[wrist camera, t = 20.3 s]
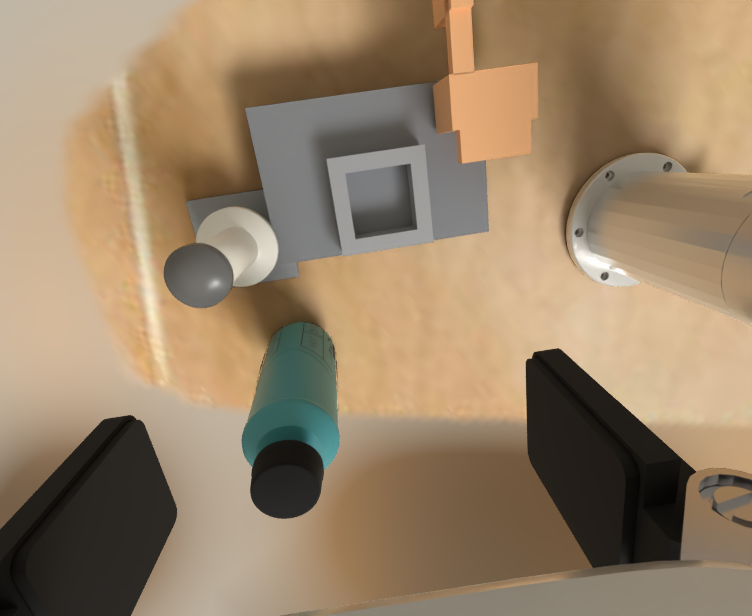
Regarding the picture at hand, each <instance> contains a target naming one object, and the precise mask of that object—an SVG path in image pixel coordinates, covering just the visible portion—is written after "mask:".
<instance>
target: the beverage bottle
mask: <svg viewBox="0 0 752 616" xmlns="http://www.w3.org/2000/svg"><path fill="white" fill-rule="evenodd" d="M278 330H279V329H278ZM272 337H273V338H272ZM330 337H331V336H330ZM330 337H329V335H328V334H327V333H326V332H325V331H324V329H321V327H319V326H317V325H314V324H311V323H307V322H296V323H292V324H289V325H286V326H285V327H281V329H280V330H279V331H277V332H276V334H275V335H274V336H271V340H270V344H269V347H268V348H267V349H268V350H267V354H266V357H265V354H264V358H263V360H264V359H265V360H264V364H263V366H262V364H261V367H262V371H261V374H260V377H257V378H259V381H258V382H256V383H257V384H258V385H257V387H256V393H255V397H254V400H253V404H252V407H251V411H250V414H249V417H248V421H247V423H246V425H245V428H244V431H243V435H242V448H243V453H244V455H245V458H246V459H247V461H248V462H249V464H250V465H251V466H252V467H253V468H252V479H251V488H250V491H251V492H250V493H251V498H252V501H253V503H254V504H255V506H256V507H257V508H258V509H259V510H260V511H261V512H263V513H265V514H266V515H269V516H272V517H274V518H282V519H287V518H294V517H297V516H300V515H303V514H304V513H306V512H308V511H309V510H310V509H312V508H313V506H314V505H315V504H316V503H317V501H318V499H319V496H320V493H321V486H322V480H323V476H324V475H323V474H324V469H326V468H327V467H328V466H329V464H330V463H331V462H332V461H333V459H334V457H335V456H336V454H337V451H338V447H339V430H338V420H337V414H338V413H337V411H338V410H337V389H336V386H338V385H336V373H337V372H335V366H336V369H337V361H335V360H336V359H335V350H334V346H335V345H333V343H332V339H331V338H330ZM267 346H268V345H267ZM265 352H266V351H265ZM262 363H263V361H262ZM335 363H336V365H335ZM260 370H261V368H260ZM257 380H258V379H257ZM337 380H338V379H337ZM337 384H338V383H337ZM338 407H339V406H338Z"/></svg>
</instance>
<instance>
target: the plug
mask: <svg viewBox="0 0 752 616" xmlns="http://www.w3.org/2000/svg"><path fill="white" fill-rule="evenodd" d="M278 256H279V242H278V238H277V235H276V233H275V230H274V229H273V227H272V225H271V224H270V223H269V222H268V221H267V220H266V219H265V218H264V217H263V216H262V215H261V214H259V213H257V212H256V211H254V210H251V209H249V208H245V207H239V206H233V207H226V208H223V209H220V210H218V211H215V212H214V213H212V214H210V215H209V216H208V217H207V218H206V219H205V220H204V221H203V222H202V224H201V225H200V227H199V229H198V232H197V236H196V243H191V244H187V245H185V246H183V247H181V248H179V249H177V250H175V251H174V252H173V253H172V254H171V255H170V256H169V257H168V259H167V261H166V263H165V266H164V279H165V283H166V285H167V287H168V289H169V291H170V292H171V293H172V295H173V296H174V297H175V298H177V299H178V300H179V301H180V302H182V303H184V304H186V305H188V306H191V307H195V308H207V307H211V306H214V305H216V304H218V303H219V302H221V301H222V300H223V299H224V298H225V297H226V296H227V295H228V293H229V292H230V290H231V288H232V286H235V287H246V286H251V285H254V284H256V283H258V282H260V281H262V280H263V279H264V278H266V277H267V276H268V274H269V273H270V272H271V271H272V269H273V268H274V266H275V265H276V262H277V260H278Z"/></svg>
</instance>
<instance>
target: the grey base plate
mask: <svg viewBox="0 0 752 616" xmlns="http://www.w3.org/2000/svg"><path fill="white" fill-rule="evenodd" d="M437 82H439V81H436V82H429V83H421V84H414V85H407V86H400V87H393V88H386V89H379V90H372V91H364V92H357V93H350V94H343V95H336V96H329V97H322V98H314V99H307V100H300V101H293V102H286V103H279V104H272V105H265V106H257V107H250V108H245V111H246V115H247V120H248V124H249V129H250V133H251V137H252V142H253V146H254V151H255V155H256V160H257V164H258V169H259V173H260V178H261V182H262V187H263V191H264V195H265V200H266V204H267V209H268V213H269V218H270V222H271V225H272V227H273V229H274V230H275V233H276V235H277V238H278V242H279V256H278V258H279V262H280V265H282V264H289V263H295V262H301V261H307V260H313V259H320V258H326V257H332V256H338V255H343V256H349V255H356V254H362V253H368V252H374V251H380V250H387V249H393V248H399V247H405V246H412V245H418V244H424V243H430V242H434V240H438V239H444V238H450V237H457V236H463V235H469V234H475V233H482V232H488V231H489V224H488V201H487V179H486V160H483V161H476V162H470V163H463V164H459V163H458V157H457V142H456V131H455V132H449V133H442V134H437V132H436V119H435V107H434V95H433V85H434V84H436V83H437Z"/></svg>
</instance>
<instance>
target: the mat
mask: <svg viewBox="0 0 752 616" xmlns="http://www.w3.org/2000/svg"><path fill="white" fill-rule="evenodd" d="M186 204H187V208H188V211H189V215H190V218H191V222H192V225H193V229H194V232H195V236H197V232H198V229H199V227H200V225H201V224H202V222H203V221H204V220H205V219H206V218H207V217H208V216H209V215H210V214H212V213H214V212H215V211H218V210H220V209H223V208H226V207H233V206H239V207H245V208H249V209H251V210H254V211H256V212H257V213H259V214H261V215H262V216H263V217H264V218H265V219H266V220H267V221H268V222H269V223H270V224H271V222H270V218H269V213H268V209H267V204H266V200H265V195H264V191H263V190H256V191H249V192H243V193H236V194H229V195H223V196H216V197H209V198H203V199H196V200H190V201H186ZM293 277H299V270H298V266H297V262H295V263H289V264H282V265H280V262H279V258H278V260H277V262H276V265H275V266H274V268H273V269H272V271H271V272H270V273H269V274H268V276H267V277H266V278H264V279H263V280H262V281H260V282H258V283H263V282H269V281H275V280H281V279H287V278H293ZM256 284H257V283H256ZM232 287H235V286H232Z"/></svg>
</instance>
